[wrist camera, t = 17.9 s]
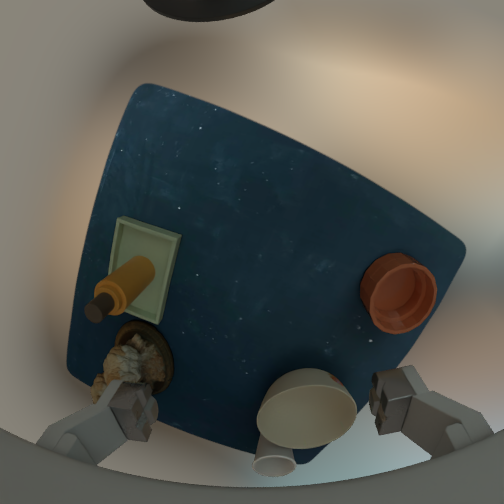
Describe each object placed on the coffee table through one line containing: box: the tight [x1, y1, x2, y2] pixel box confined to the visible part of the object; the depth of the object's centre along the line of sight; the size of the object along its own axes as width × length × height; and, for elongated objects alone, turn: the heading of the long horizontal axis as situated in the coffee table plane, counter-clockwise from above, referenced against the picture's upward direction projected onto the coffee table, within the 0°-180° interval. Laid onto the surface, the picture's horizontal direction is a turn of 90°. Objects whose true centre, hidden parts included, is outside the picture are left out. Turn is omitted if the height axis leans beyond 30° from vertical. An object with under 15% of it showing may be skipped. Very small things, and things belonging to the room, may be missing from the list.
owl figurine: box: [91, 320, 174, 404], centre depth 44 cm, size 18×12×17 cm, turn 177°
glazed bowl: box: [360, 253, 437, 334], centre depth 42 cm, size 11×11×6 cm
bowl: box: [257, 368, 357, 449], centre depth 46 cm, size 16×16×10 cm
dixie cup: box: [252, 434, 296, 477], centre depth 51 cm, size 8×8×10 cm
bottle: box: [85, 256, 155, 323], centre depth 39 cm, size 5×5×16 cm
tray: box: [108, 216, 182, 325], centre depth 46 cm, size 15×10×2 cm
